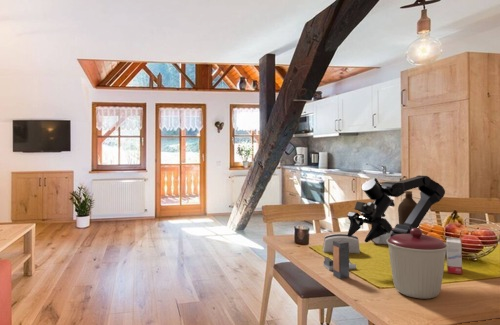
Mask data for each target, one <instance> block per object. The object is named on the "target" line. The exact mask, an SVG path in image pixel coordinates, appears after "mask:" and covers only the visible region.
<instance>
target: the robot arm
mask: <svg viewBox="0 0 500 325" xmlns="http://www.w3.org/2000/svg"><path fill="white" fill-rule="evenodd" d="M416 188H418V190H419V192H420V193H419V194H420V198H419V201H418V202H416V203H417V205H416V206H415V208H414V209H413V211H412V212H411V214H410V215H409V217H408V218H407V220H406V221H405V223H404V224H402V225H401V224H399V223H396V224H395V225H394V227H393V225H392V224H390V221H388V219H386V218H385V217H386V211H387V210H388V208H389V207H395V200H394V199H391V197H392V198H398V197H401V196H402V195H404V194H405V193H406V191H411V190H413V189H416ZM361 190H363V193H365V194H366V196H367V197H368V198H369V199H370V200H372V201H371V202H370V201H368V202H362V201H359V200H358V201H356V202H355V206H354V208H353V209H354V210H355V211H358V212H360V214H359V213H358V212H355V211H349V212H347V215H346V217H347V218H348V220H349V227H348V232H347V234H348V237H350V236H352V235H354V234H355V233H357V231H359V230H360V229H361V228H362V226H363V225H364V224H367V225H371V229H370V230H369V231H368V234H367V235H366V237H365V239H364V242H365V243H369V242H372V241H371V240H373V239H374V238H376V237H379V236H381V235H383V234H386V233H390V232H391V230H392V228H394V229H393V230H392V231H393V232H392V233H391V236H393V235H397V234H410V230H411V229H412V228H417V227H418V226H419V227H420V225H421V223H422V222H423V219H424V218H425V217H426V215H427V213H428V212H429V210H430V209H431V207H432V206H434V204H437V203H439V202H440V201H441V200H443V198H444V197H445V193H446V190H445V188H444V186H442V185H441V184H440V183H439V182H438V181H435V180H433V179H432V178H431V177H430V176H428V175H416V176H414V177H410V178H405V179H403V180H400V181H383V182H382V183H380V182H379V180H378V179H377V178H376V177H371V179H369V180H367V181H366V182H364V183H362V185H361Z"/></svg>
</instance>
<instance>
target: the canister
mask: <svg viewBox="0 0 500 325" xmlns="http://www.w3.org/2000/svg"><path fill="white" fill-rule="evenodd" d="M386 242H387V243H388V245H387V246H388V253H389V260H390V261H389V262H390V268H391V274H392V275H391V276H392V281H393V285H394V287H395V289H396V290H397V292H398V293H400V294H401V295H404V296H405V297H409V298H414V299H419V300H420V299H423V300H424V299H426V300H427V299H428V300H429V299H434V298H436V297H437V296H439V294H440V292H441V289H442V285H443V284H442V283H443V278H444V277H443V276H444V268H445V263H446V262H445V261H446V255H447V249H448V247H449V246H448V244H447V243H446V242H444V241H443V239H440V238H438V237H436V236H431V235H426V234H423V231H422V230H421V229H420V227H419V228H412V229H411V230H410V234H397V235H393V236H391V237H390V238H388V239H387V240H386Z"/></svg>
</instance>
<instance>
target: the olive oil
mask: <svg viewBox="0 0 500 325" xmlns="http://www.w3.org/2000/svg"><path fill="white" fill-rule="evenodd" d="M404 194H405V198H404V199H403V200H402V201H401V202H400V203H399V204H398V207H397V214H398V224H401V225H402V224H404V223H405V221H406V220H407V218H408V217H409V215H410V214H411V212H412V211H413V209H414V208H415V206H416V205H417V203H418V202H417V201H415V200H414V198H413V191H412V190H407V191H405V193H404Z"/></svg>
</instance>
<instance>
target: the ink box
mask: <svg viewBox="0 0 500 325" xmlns="http://www.w3.org/2000/svg"><path fill="white" fill-rule="evenodd" d="M461 240H462V239H461V238H459V237H458V238H457V237H446V242H445V243H447V244H448V246H449V247H448V249H446V269H447V273H448V274H456V275H457V274H458V275H463V259H462V258H463V257H462V254H463V252H462V241H461Z"/></svg>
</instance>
